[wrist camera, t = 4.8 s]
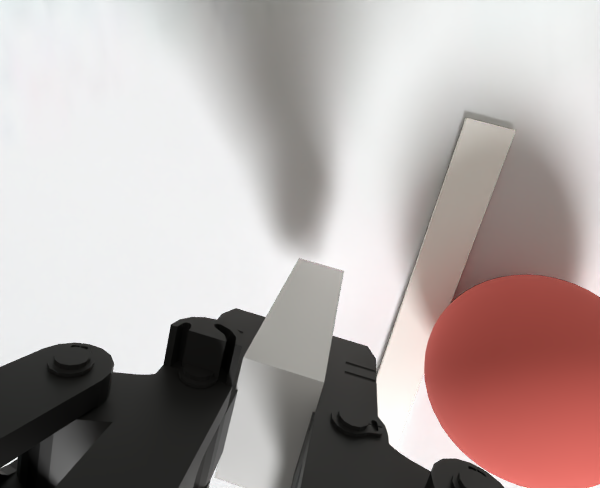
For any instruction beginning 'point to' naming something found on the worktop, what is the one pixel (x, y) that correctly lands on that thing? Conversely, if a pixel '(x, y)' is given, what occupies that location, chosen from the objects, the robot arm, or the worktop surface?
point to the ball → (521, 379)
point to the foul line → (439, 266)
